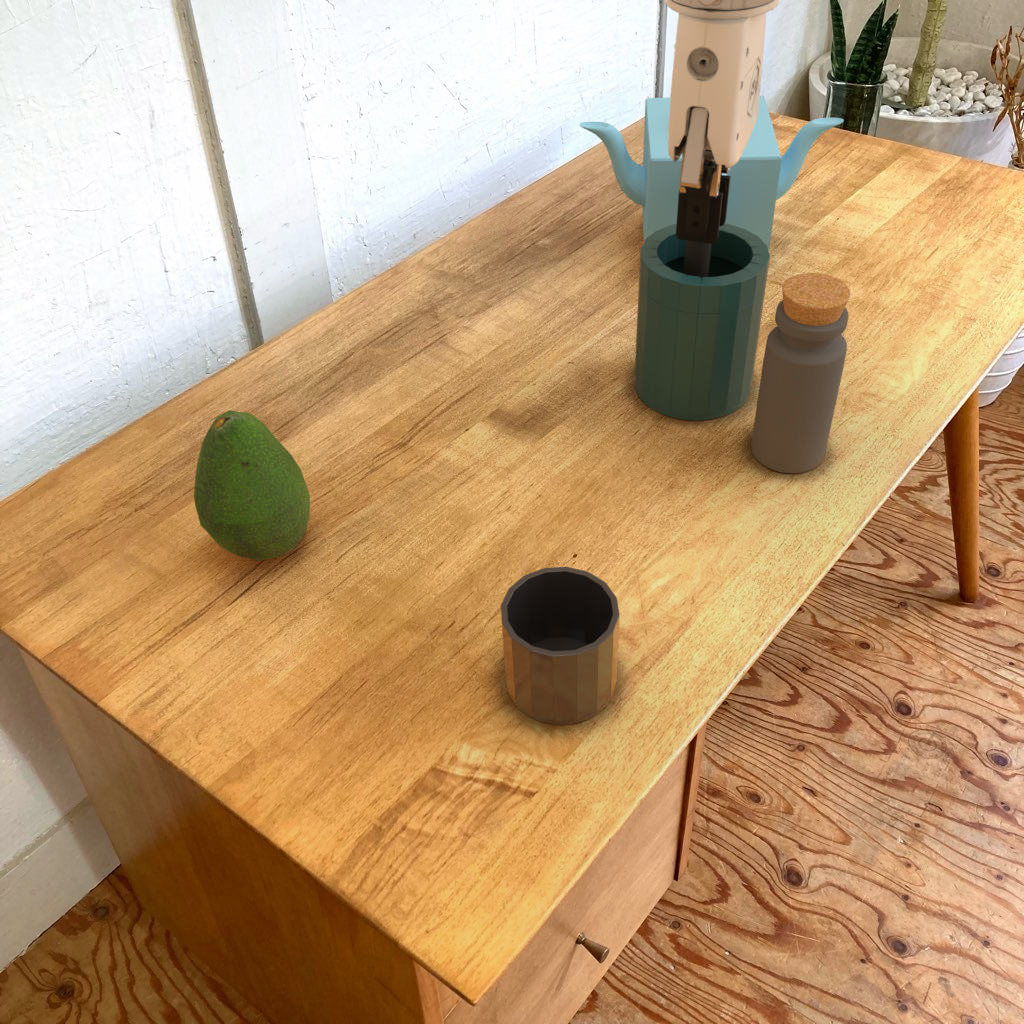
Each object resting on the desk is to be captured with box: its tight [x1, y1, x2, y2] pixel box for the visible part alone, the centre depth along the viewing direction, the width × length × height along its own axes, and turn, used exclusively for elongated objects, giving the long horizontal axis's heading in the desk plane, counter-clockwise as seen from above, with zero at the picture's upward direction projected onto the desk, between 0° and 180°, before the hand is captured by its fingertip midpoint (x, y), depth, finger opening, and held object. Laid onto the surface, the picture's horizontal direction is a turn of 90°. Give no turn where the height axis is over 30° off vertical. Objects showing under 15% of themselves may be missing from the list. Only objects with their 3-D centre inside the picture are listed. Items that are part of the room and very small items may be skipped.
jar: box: [634, 223, 771, 421], centre depth 87 cm, size 10×10×13 cm
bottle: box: [750, 272, 851, 474], centre depth 80 cm, size 6×6×15 cm
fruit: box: [193, 409, 311, 562], centre depth 75 cm, size 8×8×12 cm
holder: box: [500, 566, 620, 726], centre depth 67 cm, size 7×7×7 cm
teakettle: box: [579, 95, 845, 251], centre depth 104 cm, size 19×19×15 cm
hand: (700, 229), depth 82 cm, fingers closed
